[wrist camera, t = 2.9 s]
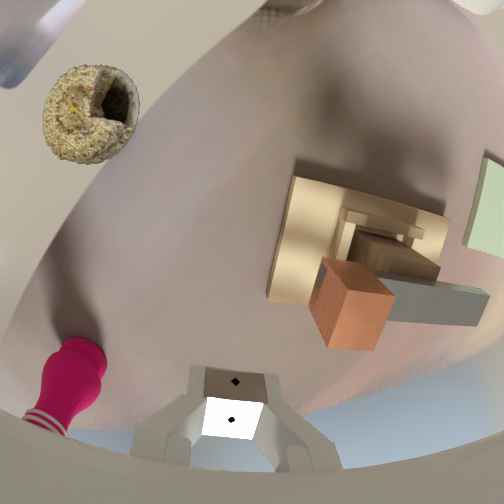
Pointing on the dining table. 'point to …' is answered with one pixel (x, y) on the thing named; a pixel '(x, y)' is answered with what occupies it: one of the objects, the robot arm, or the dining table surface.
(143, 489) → the robot arm
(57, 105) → the cake
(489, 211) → the sage pad
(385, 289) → the bar
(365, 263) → the walnut block
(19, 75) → the dining table surface
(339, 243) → the well board
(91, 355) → the pepper mill
